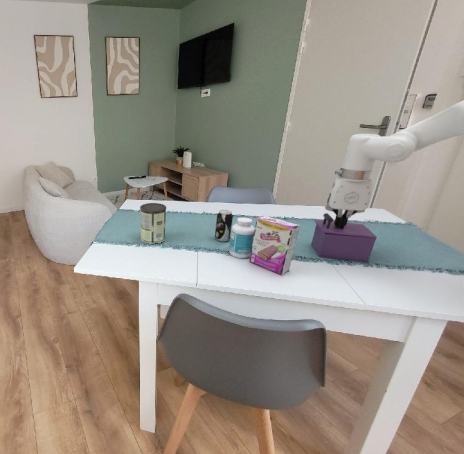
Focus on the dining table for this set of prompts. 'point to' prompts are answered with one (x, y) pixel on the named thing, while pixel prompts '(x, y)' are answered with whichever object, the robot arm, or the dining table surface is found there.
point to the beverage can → (223, 225)
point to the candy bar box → (273, 244)
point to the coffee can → (152, 222)
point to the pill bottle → (242, 238)
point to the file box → (342, 246)
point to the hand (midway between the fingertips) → (339, 226)
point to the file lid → (349, 229)
